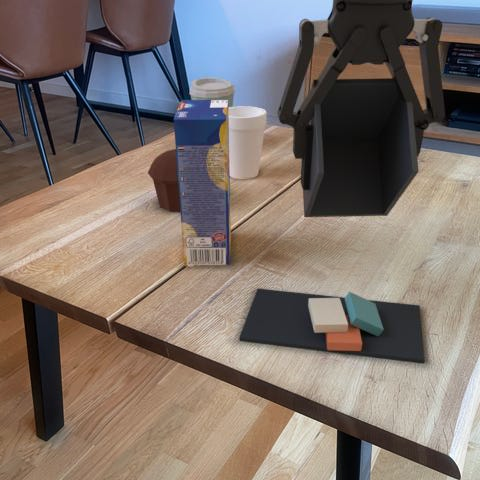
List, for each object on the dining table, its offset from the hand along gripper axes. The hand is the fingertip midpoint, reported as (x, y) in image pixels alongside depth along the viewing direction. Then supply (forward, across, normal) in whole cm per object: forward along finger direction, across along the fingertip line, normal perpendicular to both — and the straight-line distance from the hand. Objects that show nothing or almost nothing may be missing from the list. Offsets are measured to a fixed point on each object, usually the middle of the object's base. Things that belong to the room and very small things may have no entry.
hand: (352, 185), depth 64 cm
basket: (+1, 0, -5) cm, 5 cm away
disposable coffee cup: (+18, +18, -74) cm, 78 cm away
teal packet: (+15, -3, +4) cm, 16 cm away
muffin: (+18, +23, -38) cm, 48 cm away
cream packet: (+15, +2, +4) cm, 15 cm away
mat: (+18, +1, +3) cm, 18 cm away
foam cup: (+18, +11, -54) cm, 58 cm away
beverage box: (+18, +18, -19) cm, 31 cm away
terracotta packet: (+16, +1, +6) cm, 17 cm away
